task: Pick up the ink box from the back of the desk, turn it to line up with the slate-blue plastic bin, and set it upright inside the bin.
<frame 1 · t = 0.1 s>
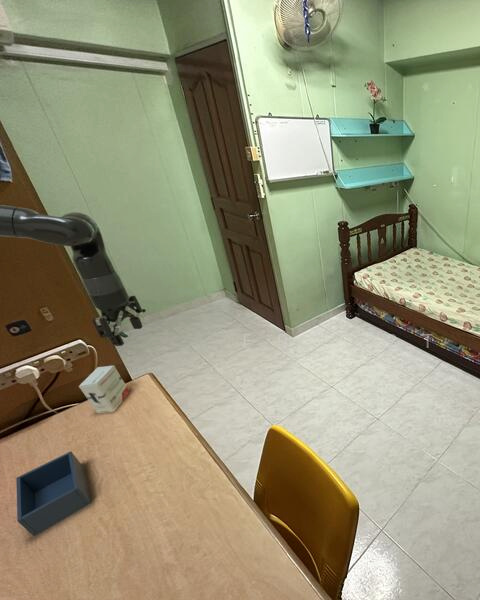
hand: (129, 336, 93), 22 cm above the table, tool pointing down, fingers open, 8 cm apart
bin: (61, 498, 73), on the table
ink box: (114, 403, 99), on the table
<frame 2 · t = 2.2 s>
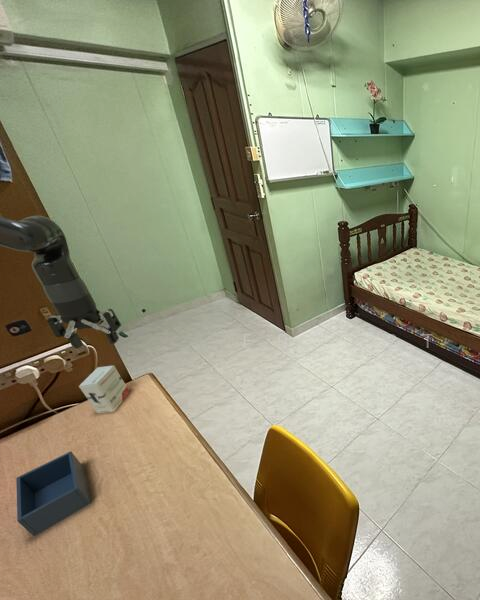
hand: (97, 344, 89), 22 cm above the table, tool pointing down, fingers open, 8 cm apart
nothing on the table moved.
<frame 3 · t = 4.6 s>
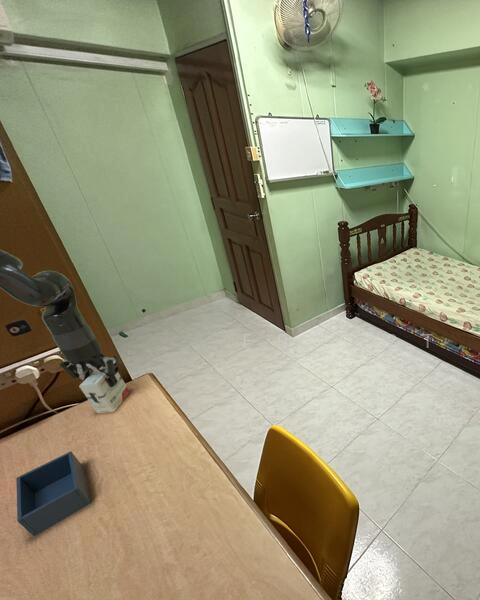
hand: (103, 385, 95), 7 cm above the table, tool pointing down, fingers closed on ink box, 5 cm apart
ink box: (114, 403, 99), on the table, touching gripper
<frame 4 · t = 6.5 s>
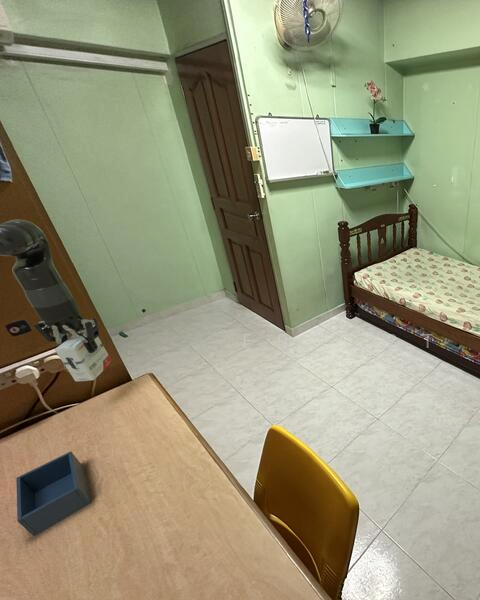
hand: (82, 351, 89), 21 cm above the table, tool pointing down, fingers closed on ink box, 5 cm apart
ink box: (94, 371, 92), point 13 cm above the table, touching gripper
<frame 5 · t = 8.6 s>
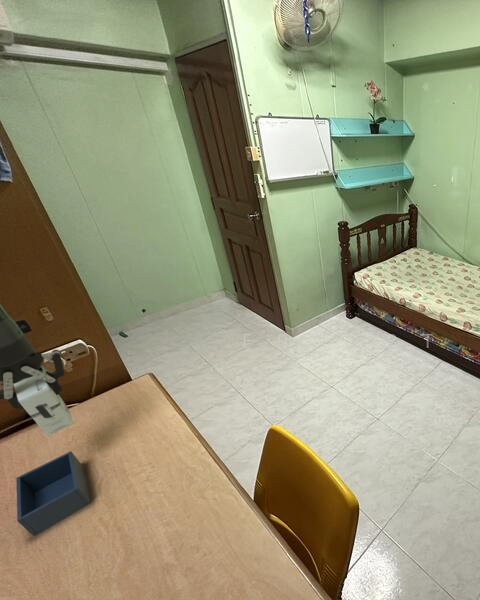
hand: (40, 399, 72), 22 cm above the table, tool pointing down, fingers closed on ink box, 5 cm apart
ink box: (58, 421, 76), point 14 cm above the table, touching gripper
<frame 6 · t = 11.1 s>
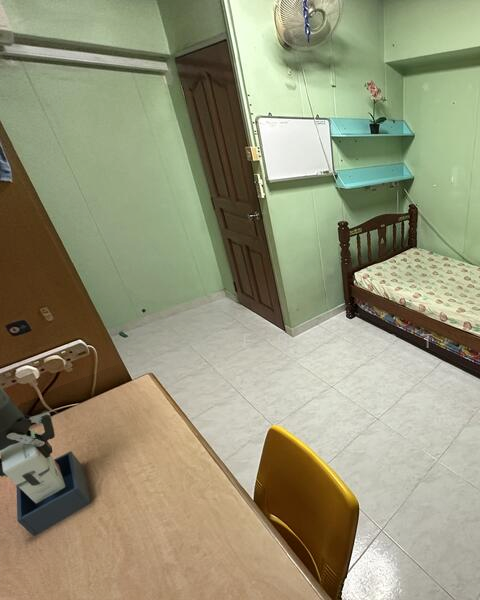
hand: (29, 463, 67), 13 cm above the table, tool pointing down, fingers closed on ink box, 5 cm apart
ink box: (48, 484, 70), point 6 cm above the table, touching gripper
when the fingers open (8 cm above the table, at t = 12.9 s): ink box stays where it is, resting on bin.
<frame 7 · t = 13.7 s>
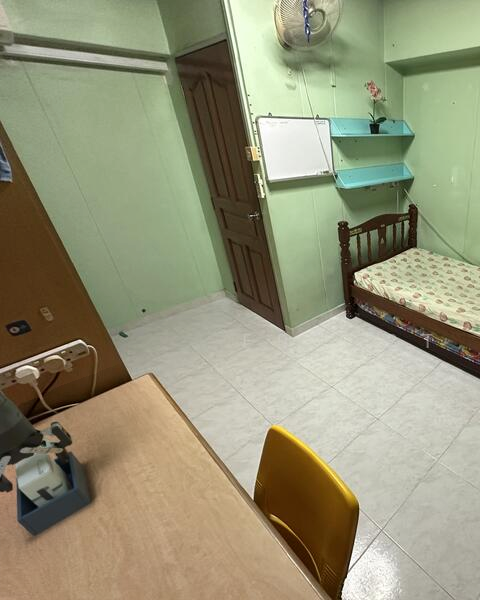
hand: (38, 474, 69), 10 cm above the table, tool pointing down, fingers open, 8 cm apart
ink box: (60, 497, 73), resting on bin
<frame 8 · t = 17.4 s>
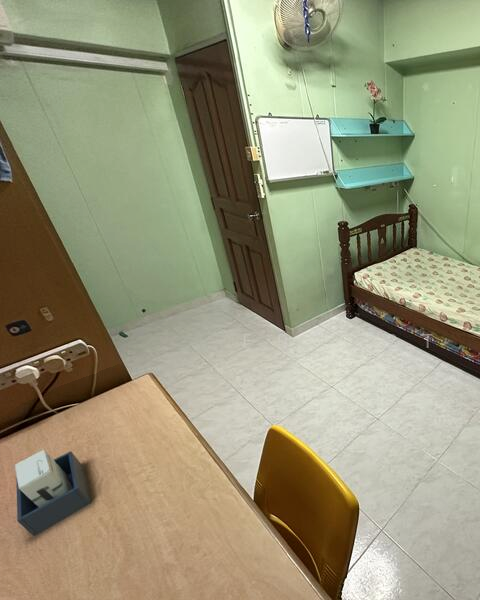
nothing on the table moved.
at the end: ink box inside the target area in the bin (0.1 cm from its centre), point 0.3 cm above the bin's base; ink box tilted 0°; the gripper is holding nothing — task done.
